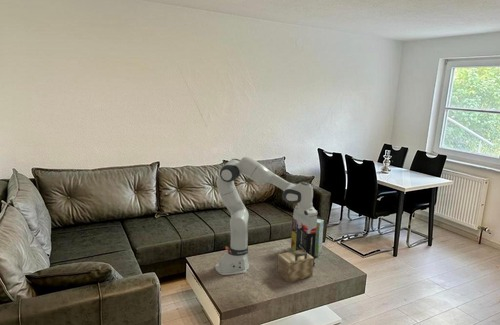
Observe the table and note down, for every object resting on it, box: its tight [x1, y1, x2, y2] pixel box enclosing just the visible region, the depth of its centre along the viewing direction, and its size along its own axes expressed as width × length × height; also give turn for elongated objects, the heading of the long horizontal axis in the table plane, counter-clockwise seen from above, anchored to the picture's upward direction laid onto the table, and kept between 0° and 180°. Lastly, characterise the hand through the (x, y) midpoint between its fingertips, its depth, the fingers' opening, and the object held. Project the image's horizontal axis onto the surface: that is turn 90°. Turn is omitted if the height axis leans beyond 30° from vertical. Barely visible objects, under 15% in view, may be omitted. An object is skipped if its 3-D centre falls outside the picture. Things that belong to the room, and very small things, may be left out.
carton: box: [277, 254, 315, 283], centre depth 223 cm, size 18×13×12 cm
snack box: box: [290, 216, 325, 258], centre depth 255 cm, size 22×9×26 cm, turn 58°
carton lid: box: [278, 250, 315, 264], centre depth 221 cm, size 18×13×5 cm
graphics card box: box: [296, 223, 316, 267], centre depth 240 cm, size 17×7×27 cm, turn 18°
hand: (304, 230), depth 213 cm, fingers open, 8 cm apart
